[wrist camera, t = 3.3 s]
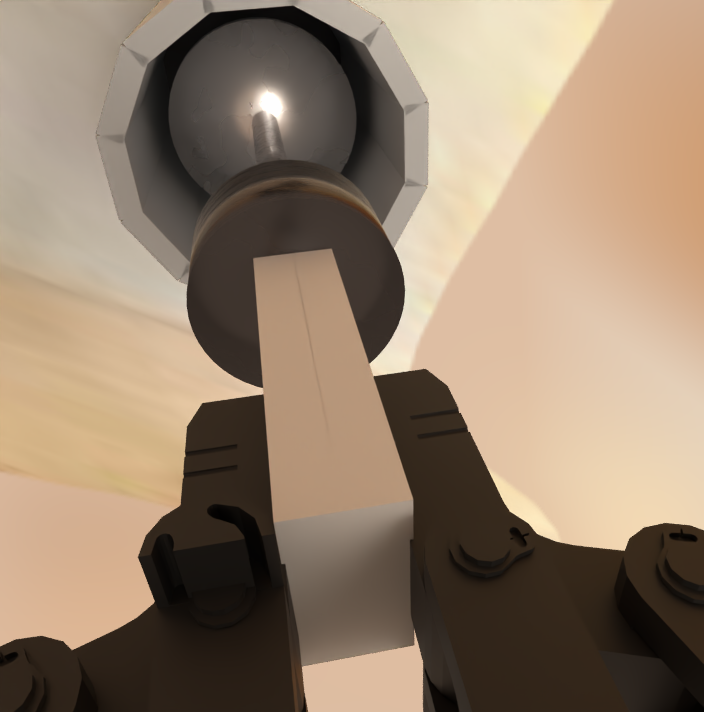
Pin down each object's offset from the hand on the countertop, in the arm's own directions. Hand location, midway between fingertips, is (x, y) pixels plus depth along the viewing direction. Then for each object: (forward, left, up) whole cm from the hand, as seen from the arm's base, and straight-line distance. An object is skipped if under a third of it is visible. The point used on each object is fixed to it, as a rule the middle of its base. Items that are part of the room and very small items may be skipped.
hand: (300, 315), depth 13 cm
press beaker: (+1, 0, -25) cm, 25 cm away
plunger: (0, 0, -16) cm, 16 cm away
